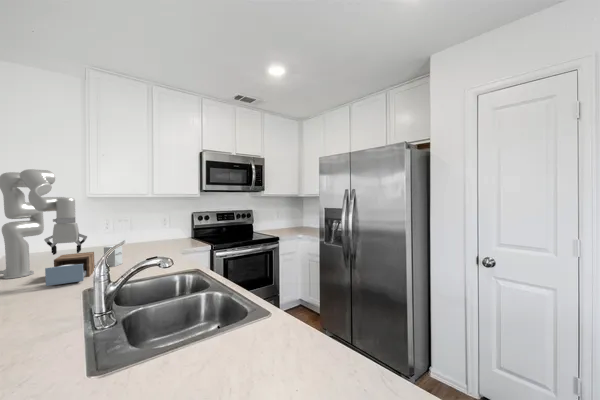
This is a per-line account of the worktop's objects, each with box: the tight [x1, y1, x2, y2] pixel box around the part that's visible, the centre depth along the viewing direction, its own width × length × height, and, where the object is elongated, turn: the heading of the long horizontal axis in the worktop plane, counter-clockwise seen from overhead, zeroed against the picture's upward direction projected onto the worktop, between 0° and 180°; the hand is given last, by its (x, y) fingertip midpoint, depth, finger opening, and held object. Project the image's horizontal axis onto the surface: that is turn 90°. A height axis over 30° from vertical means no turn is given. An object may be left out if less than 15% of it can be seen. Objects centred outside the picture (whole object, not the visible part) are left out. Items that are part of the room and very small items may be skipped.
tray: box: [44, 264, 87, 287], centre depth 141 cm, size 14×15×9 cm
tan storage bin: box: [53, 251, 95, 278], centre depth 153 cm, size 14×15×12 cm
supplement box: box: [103, 244, 123, 268], centre depth 175 cm, size 7×7×13 cm
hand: (66, 253), depth 141 cm, fingers open, 9 cm apart
